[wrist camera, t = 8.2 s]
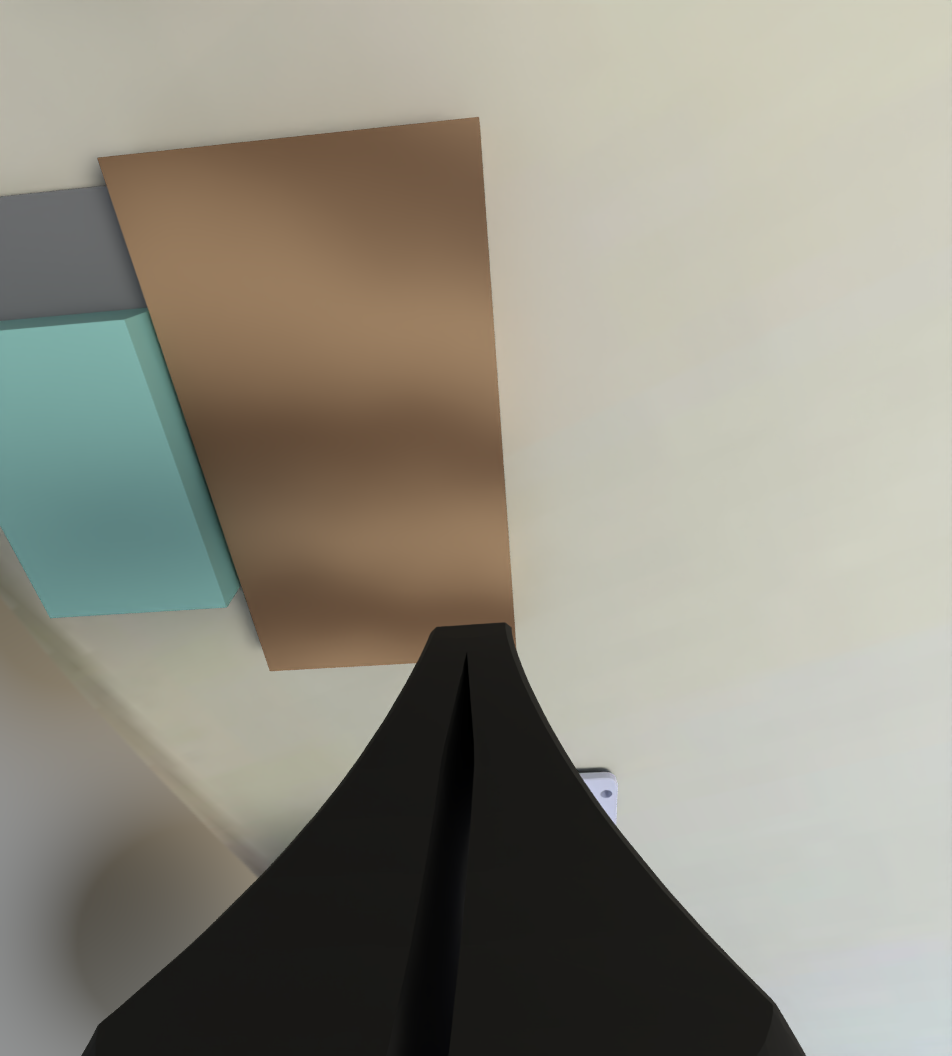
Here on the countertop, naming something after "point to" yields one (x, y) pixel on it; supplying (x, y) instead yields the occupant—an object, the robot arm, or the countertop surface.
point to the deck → (335, 376)
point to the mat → (64, 255)
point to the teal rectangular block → (104, 471)
